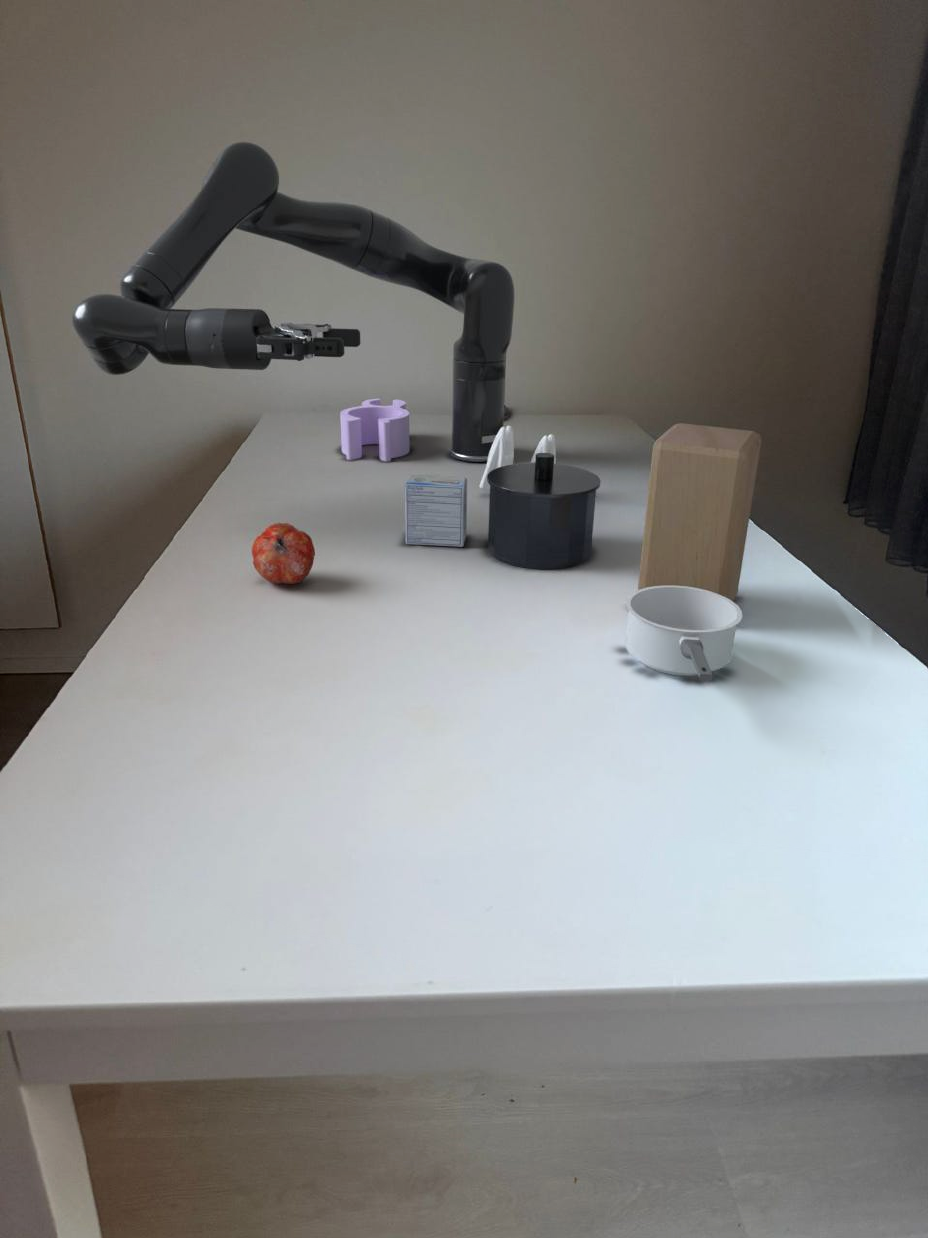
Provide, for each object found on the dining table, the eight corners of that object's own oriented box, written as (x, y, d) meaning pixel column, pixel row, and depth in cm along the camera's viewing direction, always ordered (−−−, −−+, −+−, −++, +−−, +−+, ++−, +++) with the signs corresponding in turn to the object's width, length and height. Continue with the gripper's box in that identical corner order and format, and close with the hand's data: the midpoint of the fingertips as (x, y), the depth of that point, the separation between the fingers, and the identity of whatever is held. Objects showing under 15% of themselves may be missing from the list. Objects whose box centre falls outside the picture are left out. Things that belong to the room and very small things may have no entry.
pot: (493, 530, 128) (496, 464, 124) (590, 536, 126) (596, 470, 122) (483, 565, 116) (485, 493, 112) (590, 572, 114) (596, 500, 110)
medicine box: (466, 537, 125) (468, 476, 121) (463, 548, 121) (464, 485, 117) (410, 534, 126) (409, 473, 122) (405, 545, 122) (404, 482, 118)
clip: (356, 433, 179) (355, 397, 176) (419, 435, 178) (419, 400, 175) (333, 459, 161) (331, 420, 158) (402, 462, 160) (402, 423, 157)
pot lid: (492, 468, 125) (493, 438, 123) (599, 473, 123) (602, 444, 121) (480, 499, 111) (481, 466, 110) (600, 506, 110) (602, 473, 108)
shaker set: (479, 499, 141) (481, 429, 136) (477, 491, 145) (479, 422, 140) (555, 500, 142) (560, 429, 137) (552, 492, 145) (556, 423, 141)
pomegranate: (258, 587, 113) (231, 565, 103) (274, 533, 115) (249, 506, 105) (315, 599, 112) (293, 578, 102) (330, 544, 114) (310, 518, 104)
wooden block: (737, 597, 108) (764, 430, 99) (722, 629, 99) (749, 450, 91) (654, 582, 111) (673, 420, 103) (633, 612, 103) (651, 438, 95)
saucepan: (633, 725, 81) (639, 670, 78) (616, 629, 99) (621, 582, 97) (763, 733, 80) (774, 678, 78) (723, 635, 98) (730, 587, 96)
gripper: (205, 314, 109) (336, 318, 108) (246, 302, 122) (363, 305, 120) (212, 378, 113) (339, 382, 111) (250, 359, 125) (365, 363, 124)
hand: (351, 342), depth 116 cm, fingers open, 8 cm apart
